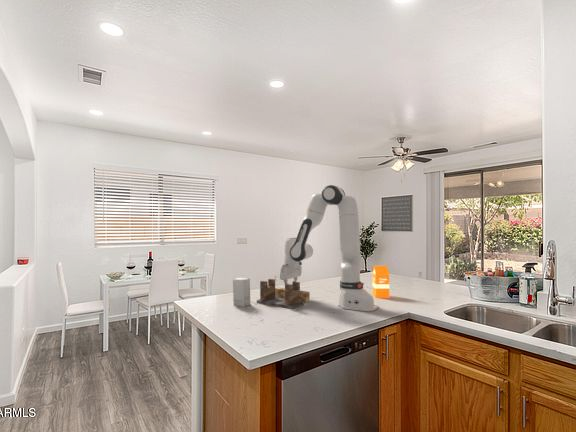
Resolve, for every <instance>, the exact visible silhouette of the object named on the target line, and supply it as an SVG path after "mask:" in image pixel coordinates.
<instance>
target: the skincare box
mask: <svg viewBox="0 0 576 432" xmlns="http://www.w3.org/2000/svg"><path fill="white" fill-rule="evenodd" d="M250 280H251V279H250V278H248V277H237V278H232V293H233V294H232V295H233V297H232V298H233V301H232V302H233V306H237V307H242V308H245V307H248V306H250V305H251V304H252V303H251V281H250Z"/></svg>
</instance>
